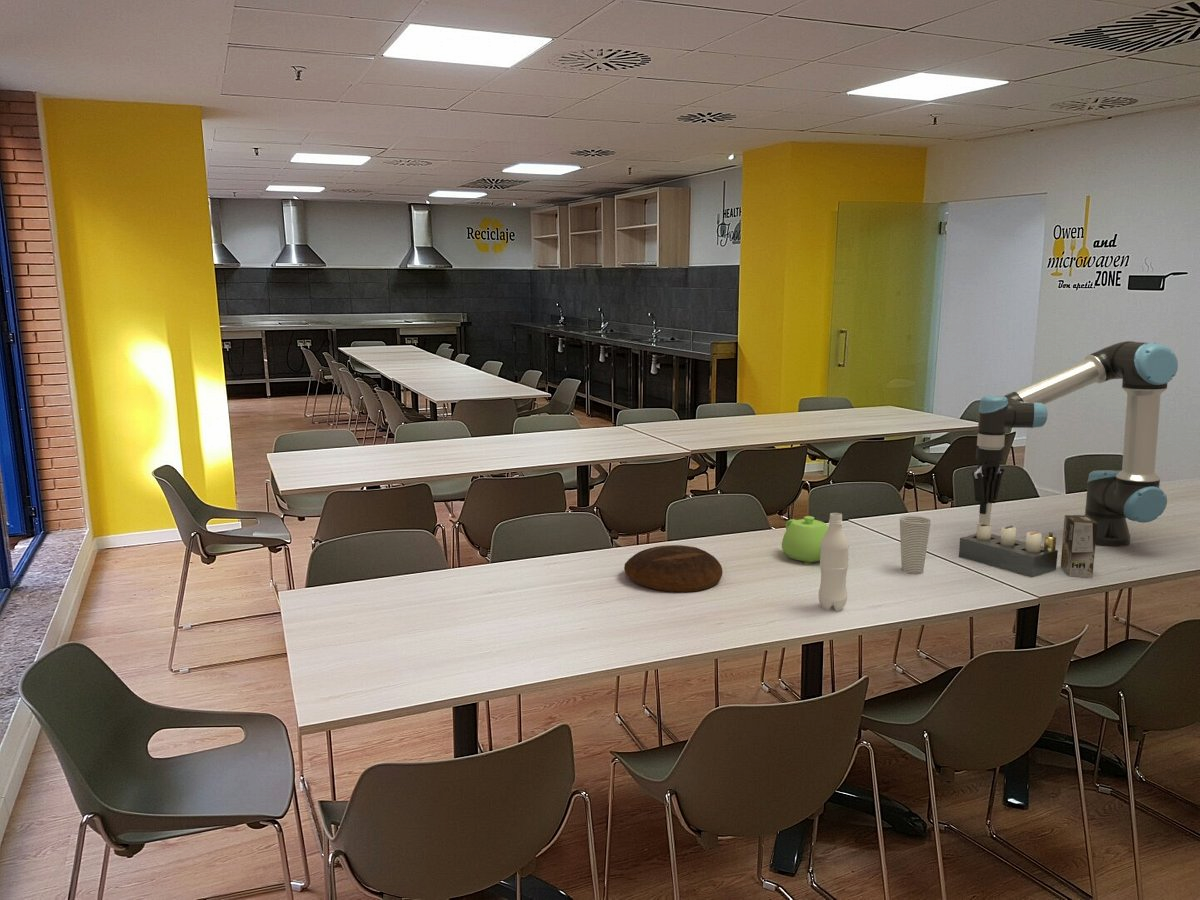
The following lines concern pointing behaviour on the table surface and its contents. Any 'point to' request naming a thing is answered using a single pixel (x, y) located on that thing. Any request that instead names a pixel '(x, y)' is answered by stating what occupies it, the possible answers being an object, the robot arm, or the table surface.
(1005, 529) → the knob
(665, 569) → the bread
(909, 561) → the cup
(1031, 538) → the knob
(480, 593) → the table surface
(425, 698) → the table surface
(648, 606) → the table surface
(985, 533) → the knob
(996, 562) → the mount
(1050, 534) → the pepper mill
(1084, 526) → the coffee box
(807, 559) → the teapot
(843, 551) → the water bottle
